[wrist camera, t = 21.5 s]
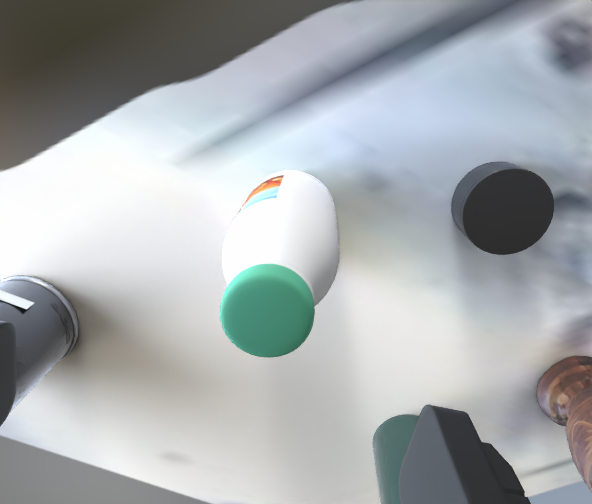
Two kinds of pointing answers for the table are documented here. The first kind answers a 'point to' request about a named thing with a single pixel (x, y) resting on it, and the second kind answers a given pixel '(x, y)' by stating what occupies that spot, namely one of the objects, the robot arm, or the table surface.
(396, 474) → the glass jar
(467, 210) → the lid
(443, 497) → the robot arm
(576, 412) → the mortar and pestle
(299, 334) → the milk bottle
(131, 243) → the table surface
